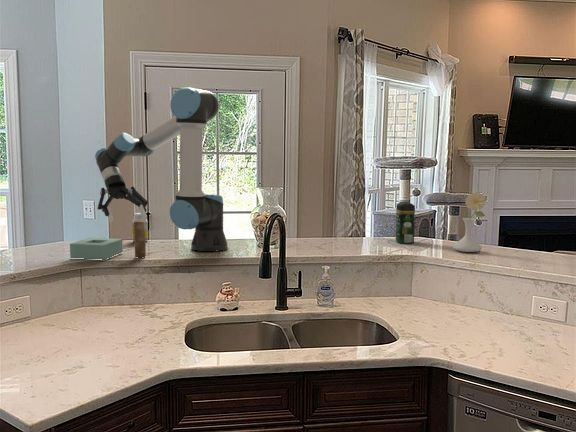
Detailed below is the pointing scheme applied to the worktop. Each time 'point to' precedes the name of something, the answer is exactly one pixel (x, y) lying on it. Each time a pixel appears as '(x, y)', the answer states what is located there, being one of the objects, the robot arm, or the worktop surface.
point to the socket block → (96, 248)
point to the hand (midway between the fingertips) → (129, 220)
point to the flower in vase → (467, 241)
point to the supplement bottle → (139, 218)
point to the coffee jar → (405, 222)
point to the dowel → (139, 239)
